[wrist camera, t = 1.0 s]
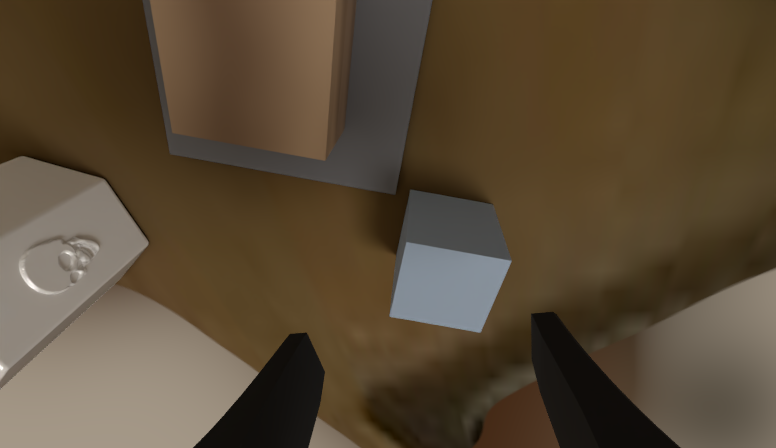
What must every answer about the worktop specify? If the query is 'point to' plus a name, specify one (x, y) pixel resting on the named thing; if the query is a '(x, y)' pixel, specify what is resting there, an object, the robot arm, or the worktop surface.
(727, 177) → the worktop surface
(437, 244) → the blue cube
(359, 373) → the worktop surface
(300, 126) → the slab upper
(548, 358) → the robot arm
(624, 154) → the worktop surface
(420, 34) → the mat
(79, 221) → the jar
